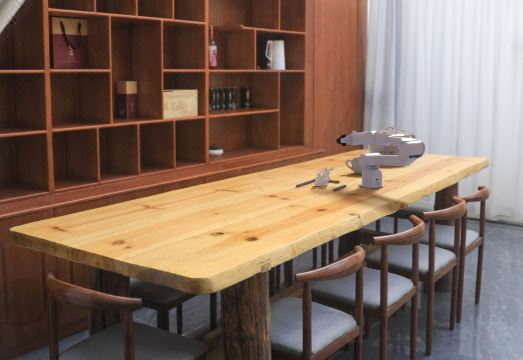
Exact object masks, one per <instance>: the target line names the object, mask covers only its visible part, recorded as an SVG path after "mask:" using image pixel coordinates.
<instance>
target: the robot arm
mask: <svg viewBox="0 0 523 360" xmlns="http://www.w3.org/2000/svg"><path fill="white" fill-rule="evenodd" d="M379 130H380V129H377V131H375V130H369V131H361V132H357V130H352V131H351V133H350V134H349V135H347V134H345V133H343V134H341V135H340V136H339V137H337V138H335V139H336V144H339V145H341V146H342V147H347V144H348V145H351V146H358V145H359V146H360V145H366V144H367V145H368V144H372V143H376V144H380V145H386V146H388V145H390V144H394V145H399V154H398V155H381V154H379V153H370V152H369V153H361V154H360V155H358V157H359V159H358V161H359V164H360V166H361V168H362V175H361V183H359V184H357V186H358V187H363V188H365V189H378V188H384V185H383V172H382V171H381V169H379V168H380V166H391V167H392V166H394V167H397V166H398V167H406V166H410V165H411V164H413V163H414V162H416V160H418V159H421V158H422V157H423V155H424V154H425V151H426V145H425V142H424V141H423V140H417V139H412V137H411V138H410V137H409V138H403V137H394V136H392V135H391V134H390V133H387V131H383V132H380V131H379Z"/></svg>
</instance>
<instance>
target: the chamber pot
mask: <svg viewBox="0 0 523 360" xmlns="http://www.w3.org/2000/svg"><path fill="white" fill-rule="evenodd" d="M377 130H379V131H380V132H383V131H387V133H390V134H391V135H392V136H394V137H403V138H410V137H411V139H416V135H415V134H414V133H413V132H411V131H407V130H401V129H394V127H393V126H391V125H390V126H387V127H386V128H385V129H377ZM377 130H376V129H375V130H374V131H377ZM416 140H417V139H416ZM367 146H368V152H369V154H370V153H379V154H381V155H398V154H399V145H394V144H390V145H388V146H386V145H380V144H376V143H372V144H367Z"/></svg>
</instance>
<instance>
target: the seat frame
mask: <svg viewBox="0 0 523 360" xmlns="http://www.w3.org/2000/svg"><path fill="white" fill-rule="evenodd" d="M315 179H316V178H313V179H311V180H307V181H304V182H302V183H301V182H300V183H299V184H296V185H295V188H300V187H304V186H306V185H309V184H314V183H315ZM328 183H334V184H340V183H341V181H340V180H338V179H337V180H336V179H330V180H329V181H328ZM344 188H347V184H341V185H339V186H337V187H334V188H333V189H332V191H333V192H337V191H340V190H342V189H344Z"/></svg>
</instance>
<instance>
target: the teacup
mask: <svg viewBox="0 0 523 360" xmlns="http://www.w3.org/2000/svg"><path fill="white" fill-rule="evenodd" d="M358 159H359V156H358V157H357V156H356V157H352V158H351V159H347V160H346V161H345V165H346V167H347V168H348V169H350V170H351V171H352V172H353V173H354V174H356V175H361V176H362V168H361V166H360V164H359V161H358ZM349 162H350V164H351V166H350V165H349V164H348V163H349Z"/></svg>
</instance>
